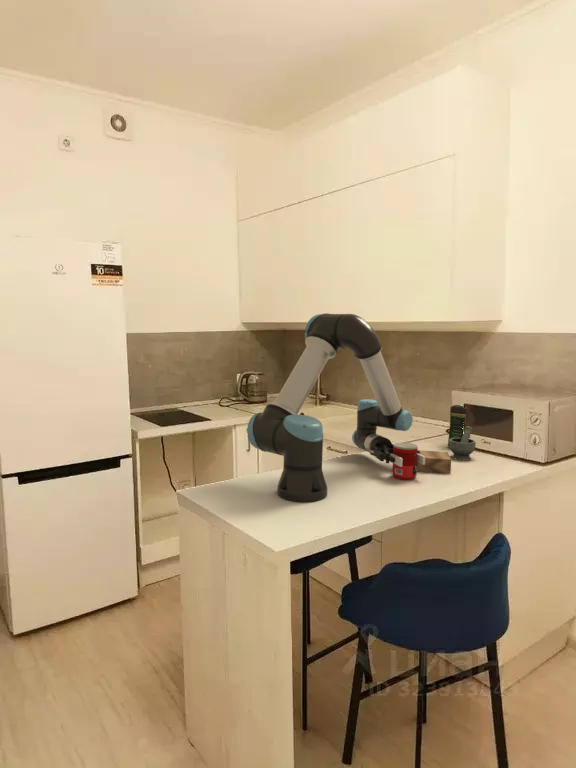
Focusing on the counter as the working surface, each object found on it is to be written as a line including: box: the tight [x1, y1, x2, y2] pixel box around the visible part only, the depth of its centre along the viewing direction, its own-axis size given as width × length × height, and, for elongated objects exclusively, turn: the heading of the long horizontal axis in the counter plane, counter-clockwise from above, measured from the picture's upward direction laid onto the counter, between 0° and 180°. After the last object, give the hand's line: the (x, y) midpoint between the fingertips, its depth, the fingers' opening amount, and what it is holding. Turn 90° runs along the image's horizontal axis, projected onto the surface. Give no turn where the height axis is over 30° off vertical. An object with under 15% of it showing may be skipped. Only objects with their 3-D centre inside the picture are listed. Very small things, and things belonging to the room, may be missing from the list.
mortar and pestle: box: [448, 426, 477, 461], centre depth 209 cm, size 11×9×12 cm
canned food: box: [391, 442, 419, 481], centre depth 182 cm, size 8×8×11 cm
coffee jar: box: [447, 404, 466, 448], centre depth 225 cm, size 10×8×19 cm
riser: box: [417, 449, 452, 474], centre depth 194 cm, size 11×11×5 cm
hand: (412, 461), depth 177 cm, fingers closed on canned food, 8 cm apart
